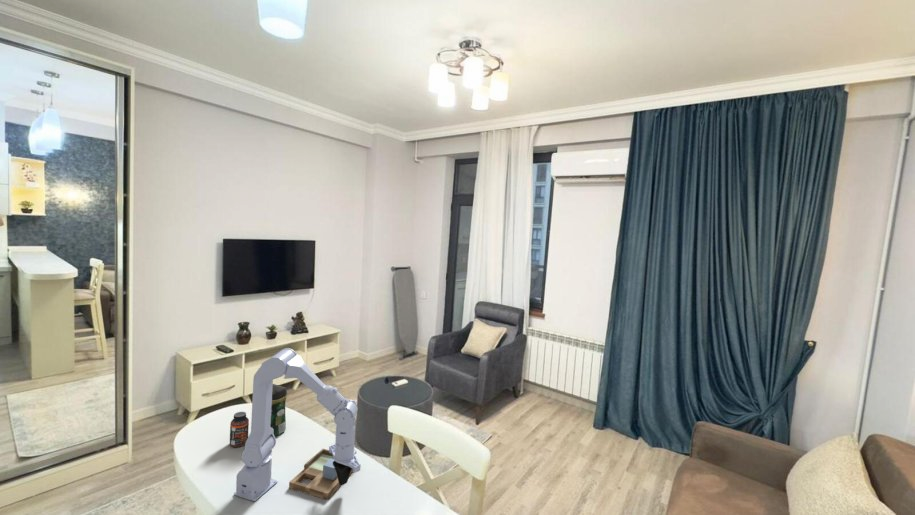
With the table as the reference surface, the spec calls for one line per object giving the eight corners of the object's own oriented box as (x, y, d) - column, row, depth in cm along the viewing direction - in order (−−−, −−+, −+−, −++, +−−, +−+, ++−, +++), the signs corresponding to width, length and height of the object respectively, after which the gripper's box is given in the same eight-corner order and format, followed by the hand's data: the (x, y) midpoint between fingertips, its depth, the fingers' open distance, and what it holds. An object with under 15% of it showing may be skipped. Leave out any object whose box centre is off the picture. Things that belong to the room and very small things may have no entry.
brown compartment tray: (327, 499, 116) (328, 488, 116) (288, 488, 120) (289, 477, 120) (357, 467, 132) (357, 457, 132) (322, 457, 136) (322, 448, 136)
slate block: (333, 480, 122) (334, 468, 122) (322, 477, 123) (323, 465, 123) (340, 472, 126) (341, 461, 126) (330, 469, 127) (330, 458, 127)
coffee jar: (254, 432, 149) (255, 386, 147) (271, 423, 156) (273, 379, 155) (272, 439, 145) (274, 392, 144) (289, 430, 152) (290, 385, 151)
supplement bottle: (233, 450, 137) (234, 419, 136) (226, 443, 141) (227, 414, 140) (251, 443, 142) (252, 414, 141) (243, 437, 146) (244, 408, 145)
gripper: (369, 446, 117) (367, 488, 118) (343, 427, 126) (341, 466, 127) (349, 455, 111) (347, 499, 112) (323, 435, 121) (321, 476, 122)
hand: (343, 483), depth 119 cm, fingers closed
